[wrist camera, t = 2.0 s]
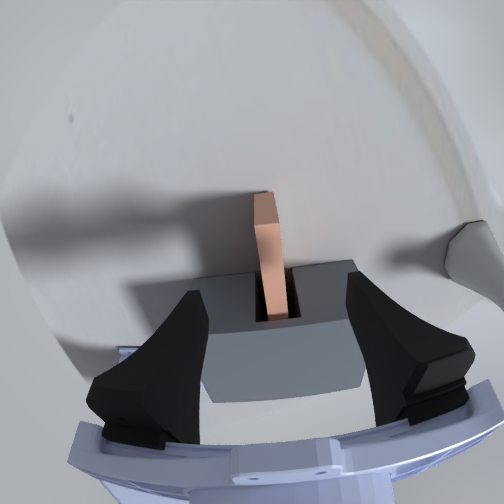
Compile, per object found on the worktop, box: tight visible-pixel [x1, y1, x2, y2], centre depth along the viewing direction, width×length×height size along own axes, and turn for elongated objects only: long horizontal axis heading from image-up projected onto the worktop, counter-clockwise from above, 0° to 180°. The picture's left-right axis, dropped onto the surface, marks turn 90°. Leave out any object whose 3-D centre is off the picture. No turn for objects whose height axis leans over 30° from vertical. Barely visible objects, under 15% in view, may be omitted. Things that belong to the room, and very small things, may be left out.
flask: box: [444, 221, 504, 311], centre depth 19 cm, size 7×7×10 cm
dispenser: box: [191, 260, 366, 403], centre depth 24 cm, size 14×10×7 cm
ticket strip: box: [254, 192, 288, 321], centre depth 22 cm, size 1×16×5 cm, turn 8°
